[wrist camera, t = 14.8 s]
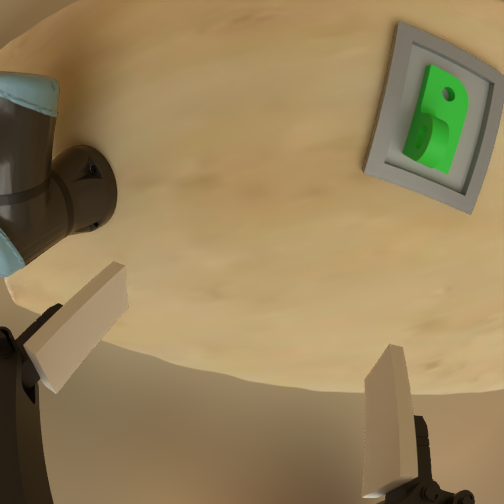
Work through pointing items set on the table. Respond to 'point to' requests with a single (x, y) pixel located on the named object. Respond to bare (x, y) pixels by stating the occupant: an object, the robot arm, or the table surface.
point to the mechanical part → (437, 120)
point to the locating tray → (403, 107)
